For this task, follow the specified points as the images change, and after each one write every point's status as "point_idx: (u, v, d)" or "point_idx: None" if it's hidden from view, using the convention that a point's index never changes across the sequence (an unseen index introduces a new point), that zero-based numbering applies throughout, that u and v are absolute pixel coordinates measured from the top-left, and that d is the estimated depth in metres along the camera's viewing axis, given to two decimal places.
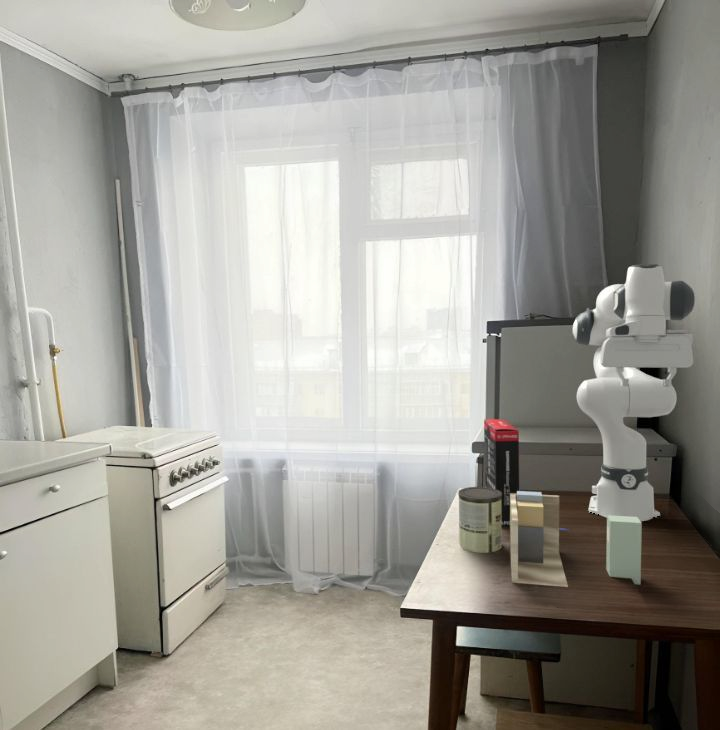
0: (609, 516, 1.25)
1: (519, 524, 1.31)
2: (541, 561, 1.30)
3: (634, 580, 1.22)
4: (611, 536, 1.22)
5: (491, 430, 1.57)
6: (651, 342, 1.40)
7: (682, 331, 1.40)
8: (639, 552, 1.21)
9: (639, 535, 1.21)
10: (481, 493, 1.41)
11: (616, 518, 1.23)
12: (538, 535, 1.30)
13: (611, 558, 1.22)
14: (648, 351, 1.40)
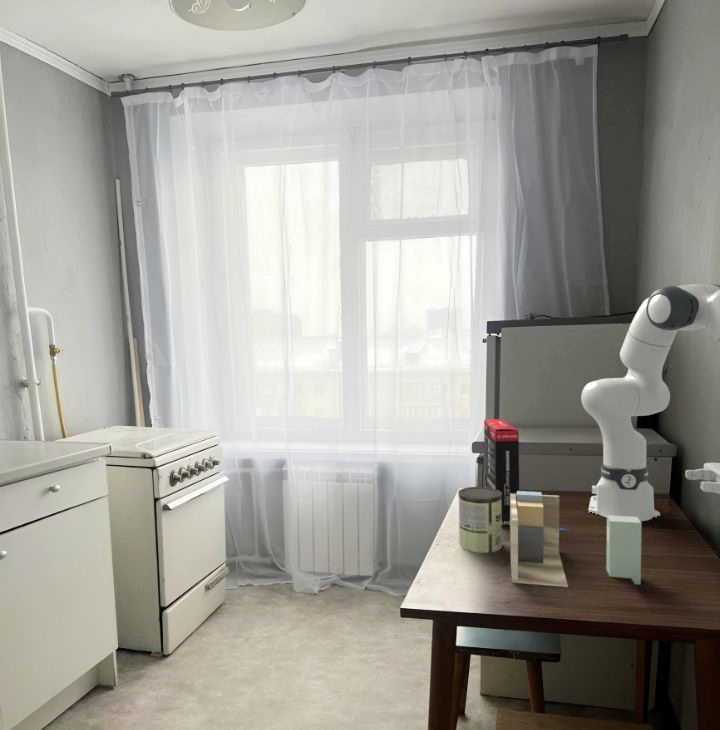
0: (609, 516, 1.25)
1: (519, 524, 1.31)
2: (541, 561, 1.30)
3: (634, 580, 1.22)
4: (611, 536, 1.22)
5: (491, 430, 1.57)
6: None
7: None
8: (639, 552, 1.21)
9: (639, 535, 1.21)
10: (481, 493, 1.41)
11: (616, 518, 1.23)
12: (538, 535, 1.30)
13: (611, 558, 1.22)
14: None
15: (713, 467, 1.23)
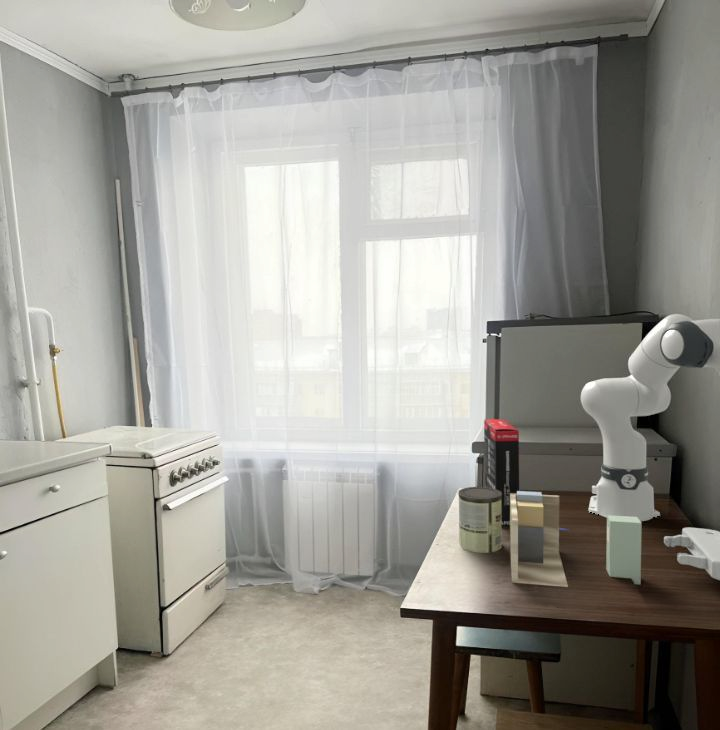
0: (609, 516, 1.25)
1: (519, 524, 1.31)
2: (541, 561, 1.30)
3: (634, 580, 1.22)
4: (611, 536, 1.22)
5: (491, 430, 1.57)
6: None
7: None
8: (639, 552, 1.21)
9: (639, 535, 1.21)
10: (481, 493, 1.41)
11: (616, 518, 1.23)
12: (538, 535, 1.30)
13: (611, 558, 1.22)
14: None
15: (691, 534, 1.25)
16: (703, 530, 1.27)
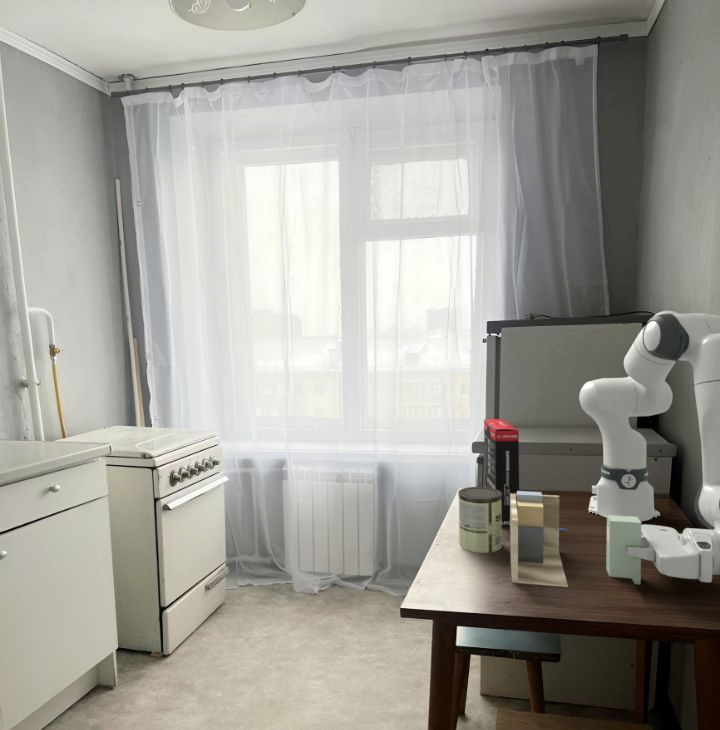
0: (609, 516, 1.25)
1: (519, 524, 1.31)
2: (541, 561, 1.30)
3: (634, 580, 1.22)
4: (611, 536, 1.22)
5: (491, 430, 1.57)
6: None
7: None
8: None
9: (639, 535, 1.21)
10: (481, 493, 1.41)
11: (616, 518, 1.23)
12: (538, 535, 1.30)
13: (611, 558, 1.22)
14: None
15: (645, 531, 1.27)
16: (658, 527, 1.29)
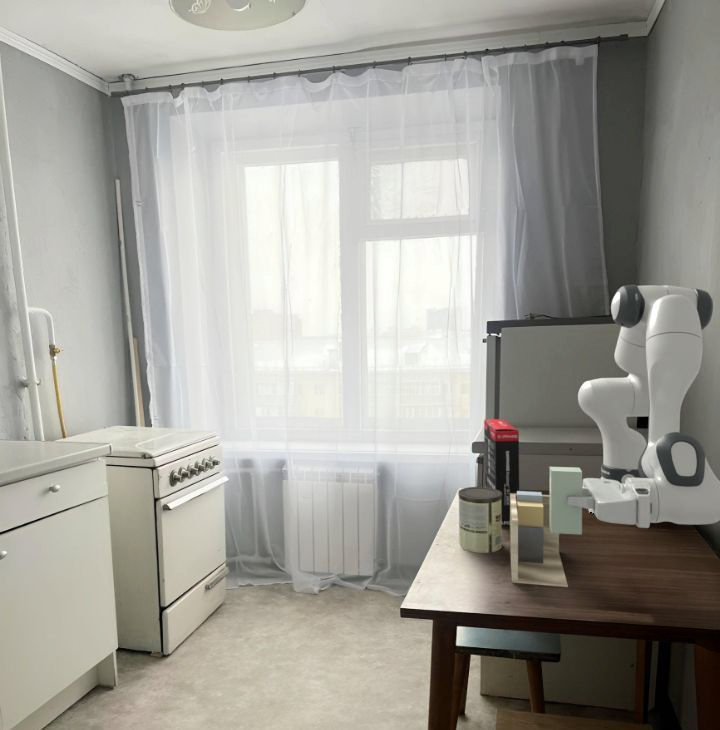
0: (551, 467, 1.24)
1: (519, 524, 1.31)
2: (541, 561, 1.30)
3: (575, 530, 1.20)
4: (552, 486, 1.21)
5: (491, 430, 1.57)
6: None
7: None
8: None
9: (580, 484, 1.20)
10: (481, 493, 1.41)
11: (558, 469, 1.22)
12: (538, 535, 1.30)
13: (552, 508, 1.21)
14: None
15: (588, 483, 1.26)
16: (602, 480, 1.28)
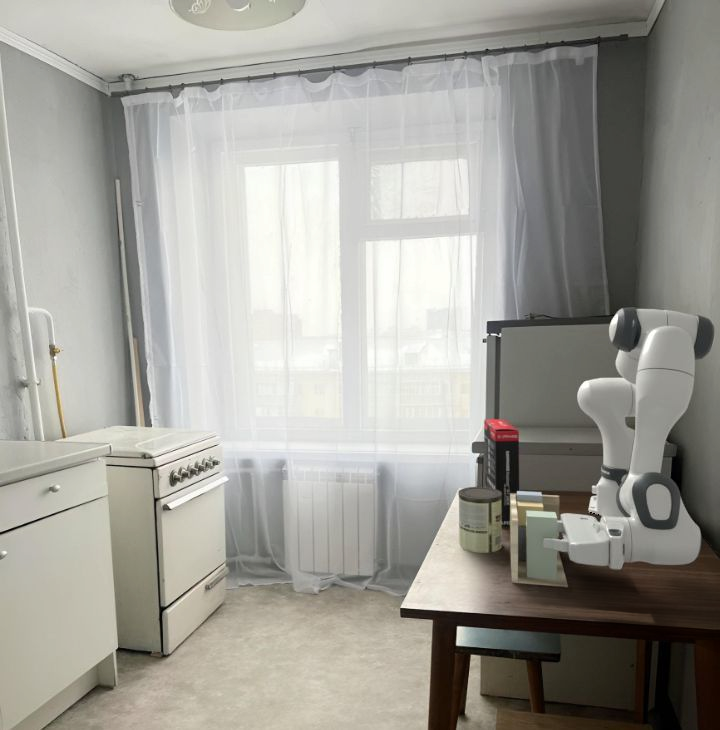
0: (528, 511, 1.25)
1: (519, 524, 1.31)
2: None
3: (550, 575, 1.22)
4: (528, 531, 1.22)
5: (491, 430, 1.57)
6: None
7: None
8: None
9: (555, 530, 1.21)
10: (481, 493, 1.41)
11: (534, 513, 1.23)
12: None
13: (528, 553, 1.22)
14: None
15: (564, 520, 1.27)
16: (579, 516, 1.29)
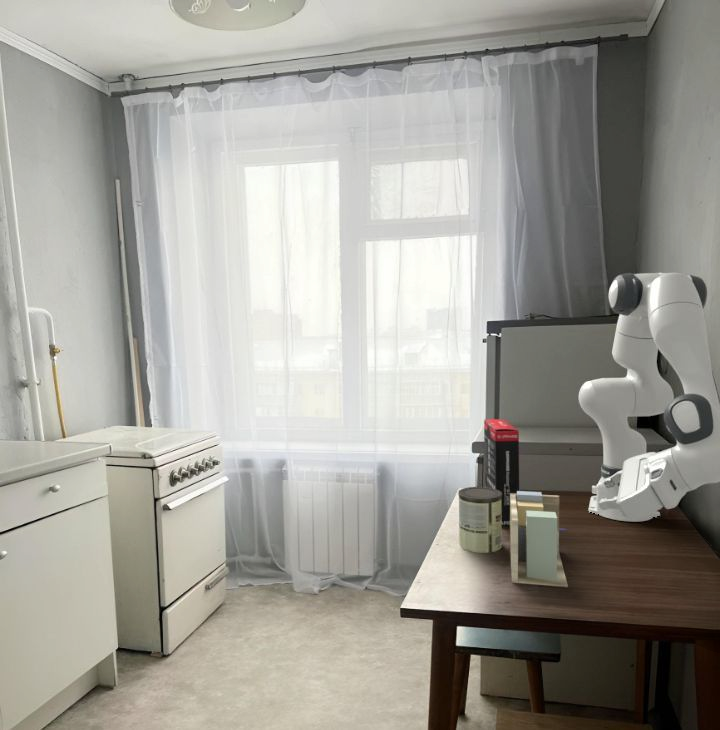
0: (528, 511, 1.25)
1: (519, 524, 1.31)
2: None
3: (550, 575, 1.22)
4: (528, 531, 1.22)
5: (491, 430, 1.57)
6: None
7: None
8: (555, 547, 1.21)
9: (555, 530, 1.21)
10: (481, 493, 1.41)
11: (534, 513, 1.23)
12: None
13: (528, 553, 1.22)
14: None
15: (623, 469, 1.27)
16: (639, 457, 1.27)
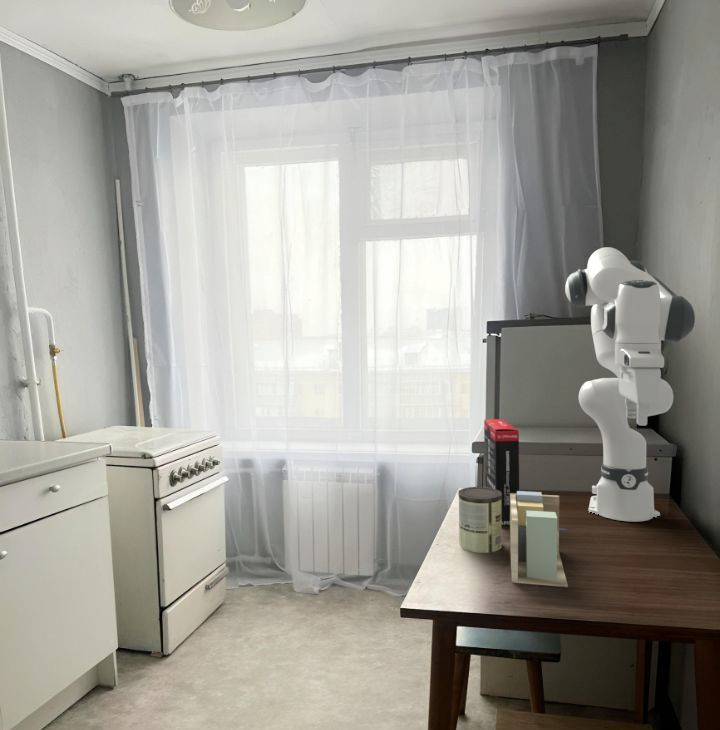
0: (528, 511, 1.25)
1: (519, 524, 1.31)
2: None
3: (550, 575, 1.22)
4: (528, 531, 1.22)
5: (491, 430, 1.57)
6: None
7: None
8: (555, 547, 1.21)
9: (555, 530, 1.21)
10: (480, 493, 1.41)
11: (534, 513, 1.23)
12: None
13: (528, 553, 1.22)
14: None
15: (623, 394, 1.30)
16: (620, 378, 1.33)
